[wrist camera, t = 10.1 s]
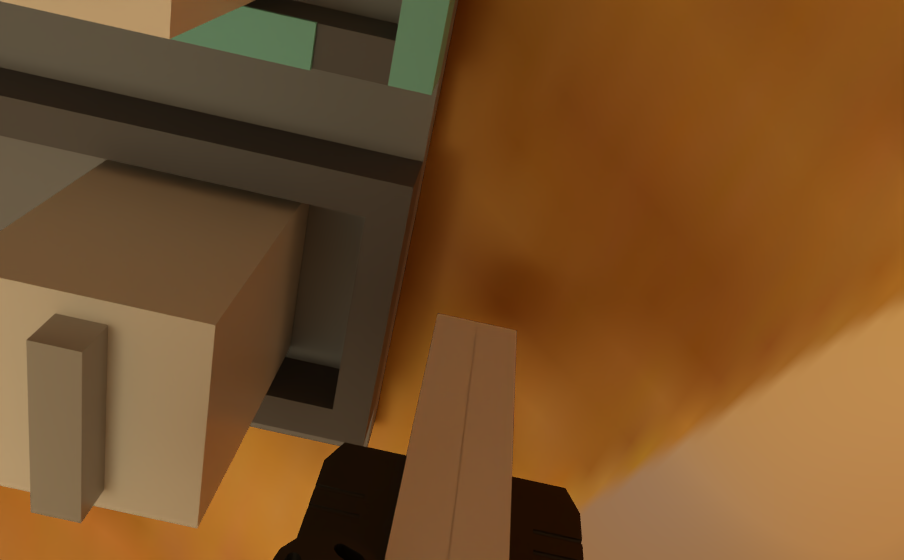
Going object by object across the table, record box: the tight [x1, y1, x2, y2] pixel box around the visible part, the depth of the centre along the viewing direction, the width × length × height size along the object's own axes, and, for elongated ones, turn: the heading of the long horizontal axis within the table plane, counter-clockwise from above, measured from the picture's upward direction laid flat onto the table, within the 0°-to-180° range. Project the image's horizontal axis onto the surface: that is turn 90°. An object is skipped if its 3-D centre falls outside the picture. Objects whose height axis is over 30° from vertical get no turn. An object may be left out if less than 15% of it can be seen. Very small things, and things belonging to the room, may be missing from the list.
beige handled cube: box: [0, 160, 309, 528], centre depth 16 cm, size 4×4×7 cm
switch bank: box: [0, 0, 458, 447], centre depth 17 cm, size 17×16×3 cm
